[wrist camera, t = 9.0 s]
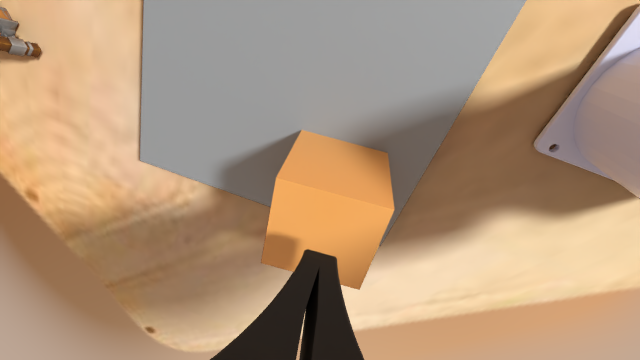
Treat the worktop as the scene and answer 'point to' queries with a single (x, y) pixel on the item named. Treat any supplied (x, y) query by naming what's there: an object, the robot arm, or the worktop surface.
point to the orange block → (329, 206)
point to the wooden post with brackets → (12, 45)
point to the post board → (308, 82)
